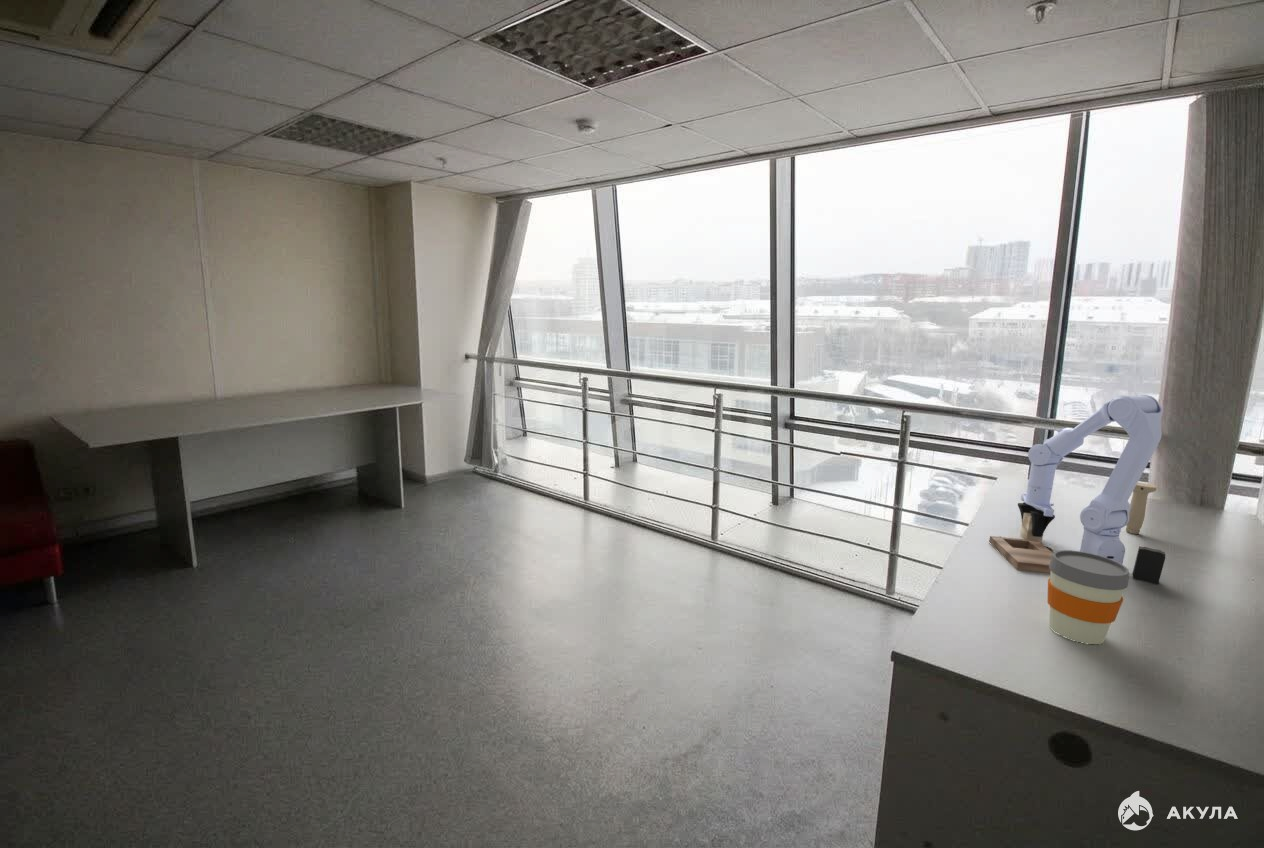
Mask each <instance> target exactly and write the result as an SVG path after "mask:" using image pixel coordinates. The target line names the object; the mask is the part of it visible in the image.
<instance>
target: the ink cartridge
mask: <svg viewBox="0 0 1264 848" xmlns="http://www.w3.org/2000/svg"><path fill="white" fill-rule="evenodd" d="M1165 560H1166V552H1165V551H1162V550H1161V549H1156V548H1150V547H1149V546H1138V550H1137V553H1136V558H1135V563H1134V564H1133V565H1134V566H1133V570H1132V573H1131V575H1132V579H1134V580H1138V581H1142V582H1144V583H1145V582H1146V583H1149V584H1150V583H1151V584H1154V583H1155V584H1154V585H1158V584H1159V583H1160V579H1161V575H1162V571H1163V568H1164V566H1165V565H1164V564H1165Z"/></svg>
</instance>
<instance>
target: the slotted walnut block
mask: <svg viewBox="0 0 1264 848" xmlns="http://www.w3.org/2000/svg"><path fill="white" fill-rule="evenodd" d="M989 542H990V543H991V544H992V545H993V546H994V547H995V548H996V549H997V550H998V551H999V552H1000V553H1001V554H1002V555H1003V556H1004V557H1005V558H1006V559H1005V558H1004V559H1005V560H1006V561H1008V562H1009V563H1010V564H1011V565H1012V566H1013V568H1014V569H1016V570H1017V569H1022V570H1021V571H1026V570H1031V571H1030V572H1036V571H1039V572H1038V573H1045V574H1046V573H1048V574H1051V570H1050V569H1049V564H1050V561H1051V558H1052V555H1053V553H1054V552H1053V551H1052V550H1050V549H1049V548H1048V547H1046V546H1045V545H1044V544H1043V543H1042V542H1039V541H1037V540H1026V539H1023V538H1013V537H1005V536H1004V537H1003V536H995V535H994V536H993V535H990V536H989V540H988V543H989ZM990 543H989V544H990ZM991 544H990V545H991ZM992 545H991V546H992ZM993 546H992V547H993ZM994 547H993V548H994ZM995 548H994V549H995ZM996 549H995V550H996ZM997 550H996V551H997ZM998 551H997V552H998ZM999 552H998V553H999ZM1000 553H999V554H1000ZM1001 554H1000V555H1001ZM1002 555H1001V556H1002ZM1003 556H1002V557H1003Z"/></svg>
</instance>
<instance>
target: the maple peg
mask: <svg viewBox="0 0 1264 848" xmlns="http://www.w3.org/2000/svg"><path fill="white" fill-rule="evenodd" d="M1019 536H1020V537H1021V539H1026V540H1037V541H1039V542H1040V543H1042V542H1043V536H1044V534H1043V535H1042V537H1035V536H1033V535H1032V517H1031V514H1030V513H1024V515H1023V521H1022V520H1021V528H1020V533H1019Z"/></svg>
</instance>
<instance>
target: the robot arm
mask: <svg viewBox="0 0 1264 848" xmlns="http://www.w3.org/2000/svg"><path fill="white" fill-rule="evenodd" d="M1163 413H1164V409H1163V407H1162V406H1161V404H1160V403H1159V401H1158V400H1157V399H1156V398H1155V397H1153V396H1152V395H1148V394H1147V395H1146V394H1145V395H1144V394H1143V395H1142V394H1141V395H1131V396H1130V395H1128V396H1127V395H1118V396H1115V397H1114V398H1111V400H1110V401H1107V402H1105V403H1103V404H1102V405H1101V407H1100V408H1099V409H1097V410H1096V411H1094V412H1093V413H1092V414H1091V415H1090V416H1088V417H1086V419H1084V420H1082V422H1080V423H1079V424H1077V425H1076V426H1075V427H1074V428H1073V427H1065V428H1064V427H1063V428H1058V430H1057V433H1056V434H1054V435H1053V436H1052V437H1049V438H1045V439H1044V440H1043V444H1040V443H1037V444H1033V445H1032V446H1031V448H1030V449H1029V450H1028V452H1027V457H1028V460H1029V461H1030V463H1031V464H1030V470H1029V476H1028V480H1027V481H1028V482H1027V488H1026V493H1021V496H1020V500H1021V501H1023V502H1018V503H1017V507H1018V509H1019V512H1020V517H1021V522H1022V521H1023V515H1024V513H1030V514H1031V517H1032V535H1033V536H1035V537H1042V535H1043V536H1044V533H1045V531H1046V529H1047V528H1048V525H1049V524H1050V523H1051V522H1052V521H1053V520H1055V518H1056V515H1055V514H1054V512H1055V509H1053V507H1054V505H1055V503H1053V502H1052V501H1051V496H1052V492H1053V487H1054V486H1053V485H1054V480H1055V475H1056V470H1057V469H1058V466H1059V465H1060V464H1061V463H1062V462H1063V460H1064V457H1066V456H1067V455H1068V454H1071V453H1073V452H1074V451H1075V450H1078V448H1080V447H1081V446H1082V445H1084V440H1085V439H1084V438H1087V437H1088V436H1090V435H1092V434H1093V433H1095V432H1097V431H1098V430H1100V429H1102V428H1104V427H1105V426H1108V425H1109V424H1111V423H1114V422H1115V423H1116V424H1117V425H1119V426H1120V427H1121V428H1122V429H1123V430H1124V431H1125V432H1126V434H1127V435H1128V437H1129V439H1128V440H1127V442H1126V444H1125V446H1124V448H1123V451H1122V452H1121V454H1120V456H1119V457H1118V460H1117V462H1116V464H1115V466H1114V468H1113V470H1112V472H1111V473H1110V475H1109V478H1108V479H1107V481H1106V484H1105V486H1104V487H1103V489H1102V492H1101V493H1100V494H1098V495H1097V496H1095V497H1094V498H1093V499H1092V500H1091V501H1090V503H1089V505H1087V506H1086V507H1083V508H1082V510H1081V512H1080V514H1079V519H1080V522H1081V524H1082V526H1083V533H1082V539H1081V543H1080V549H1079V551H1080V552H1086V553H1091V554H1095V555H1099V556H1102V557H1106V558H1108V559H1111V560H1114V561H1116V562H1118V563H1120V564H1122V565H1124V564H1123V563H1124V558H1125V554H1126V546H1125V544H1124V543H1123V542H1122V541H1121V538H1120V536H1121V535H1120V533H1121V531H1122V528H1124V527H1125V528H1126V527H1127V526H1126V525H1127V524H1128V521H1129V511H1130V509H1131V505H1130V502H1129V499H1130V497H1131V496H1132V495H1133V490H1134V488H1135V486H1136V485H1137V483H1138V482H1140V479H1141V477H1142V475H1143V474H1144V471H1145V470H1146V468H1147V466H1148V464H1149V463H1150V460H1151V458H1152V456H1153V455H1154V453H1155V451H1156V449H1157V447H1158V445H1159V444H1160V441H1161V439H1162V436H1163V435H1162V415H1163Z"/></svg>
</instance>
